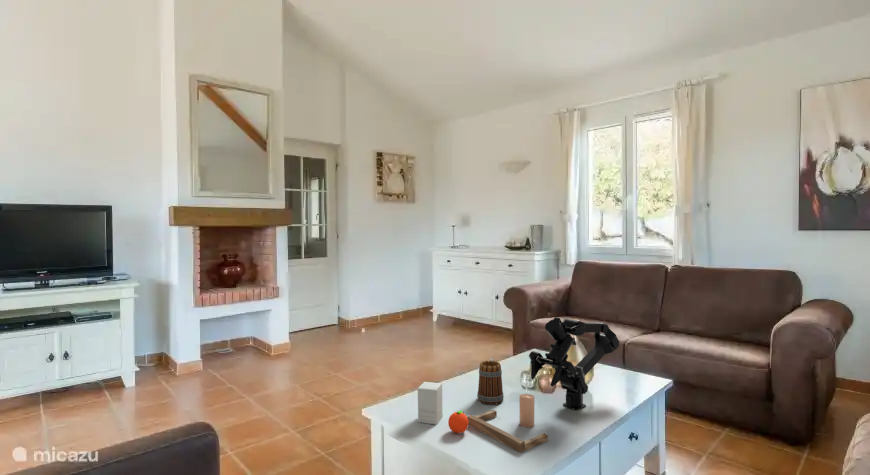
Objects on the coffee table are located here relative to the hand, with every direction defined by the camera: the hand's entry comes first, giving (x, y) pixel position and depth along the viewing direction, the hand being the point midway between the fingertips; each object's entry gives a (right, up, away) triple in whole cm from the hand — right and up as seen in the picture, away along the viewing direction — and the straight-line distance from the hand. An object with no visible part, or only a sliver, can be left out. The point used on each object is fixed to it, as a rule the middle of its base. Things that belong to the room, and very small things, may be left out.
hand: (541, 382), depth 170 cm
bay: (-14, -14, -10) cm, 22 cm away
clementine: (-30, -14, -10) cm, 35 cm away
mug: (-16, -13, +21) cm, 29 cm away
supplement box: (-40, -14, 0) cm, 43 cm away
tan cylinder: (-6, -14, -4) cm, 15 cm away
